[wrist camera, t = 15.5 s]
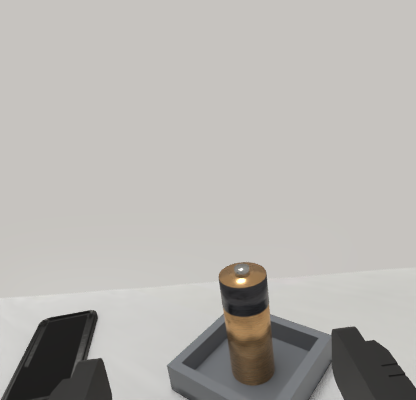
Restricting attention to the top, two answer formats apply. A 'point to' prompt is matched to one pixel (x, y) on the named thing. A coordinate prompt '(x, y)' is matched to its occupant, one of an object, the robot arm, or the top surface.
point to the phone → (52, 355)
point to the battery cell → (247, 322)
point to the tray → (247, 394)
